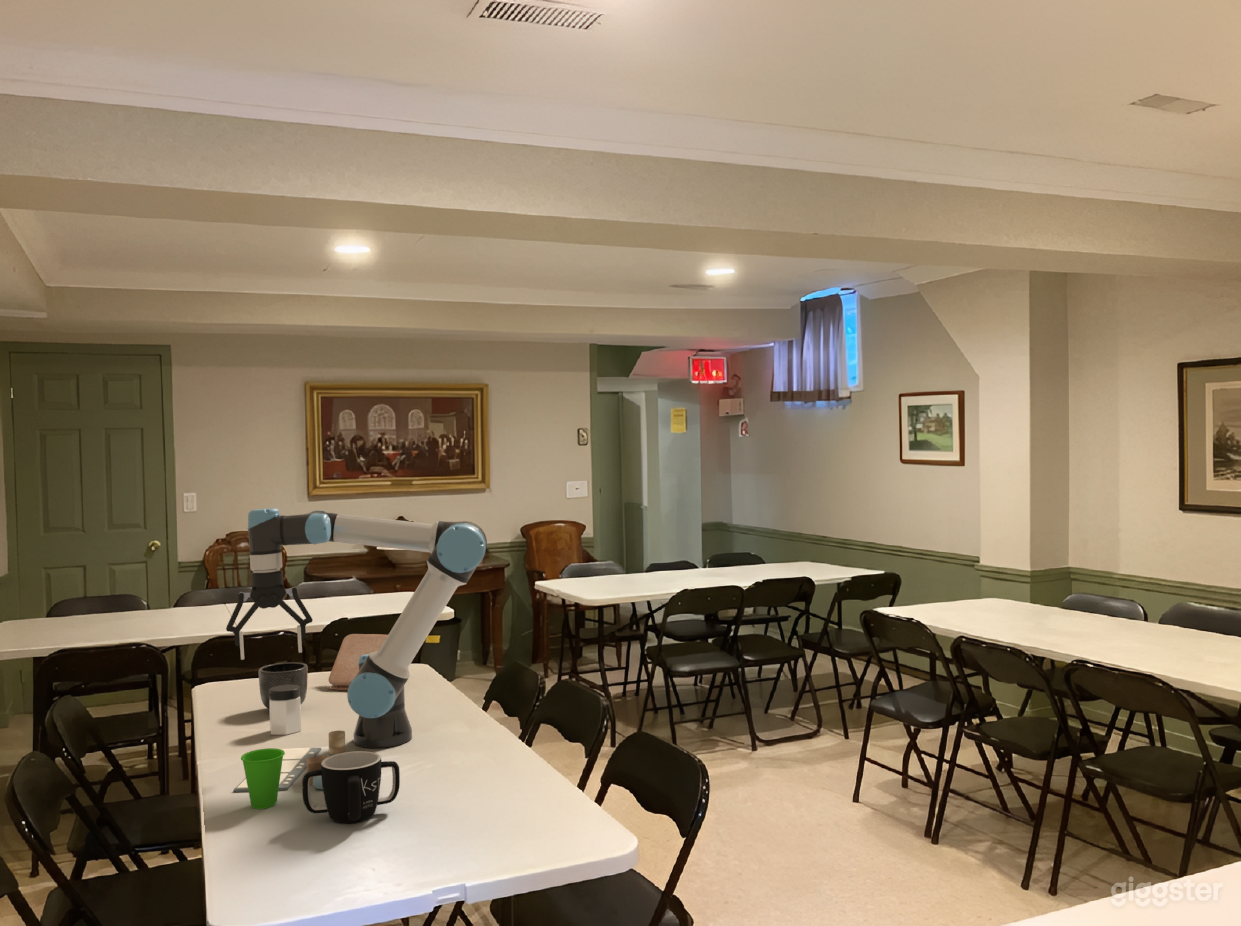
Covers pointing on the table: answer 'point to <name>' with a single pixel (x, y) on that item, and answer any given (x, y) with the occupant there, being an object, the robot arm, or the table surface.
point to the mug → (351, 786)
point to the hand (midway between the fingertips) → (271, 655)
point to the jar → (285, 709)
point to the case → (352, 658)
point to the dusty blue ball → (317, 782)
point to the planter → (282, 679)
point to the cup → (263, 776)
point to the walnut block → (314, 764)
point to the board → (288, 767)
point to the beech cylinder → (336, 742)
